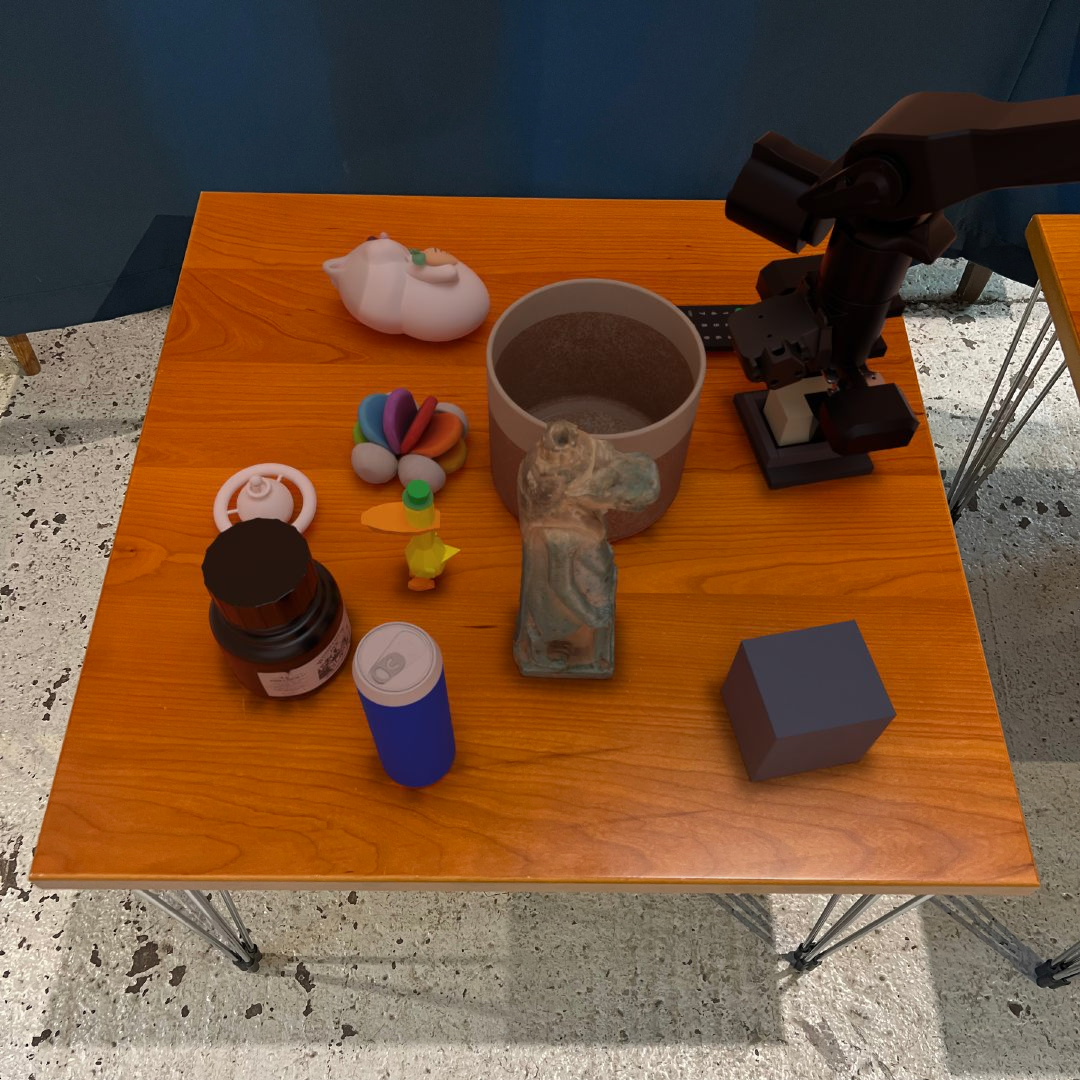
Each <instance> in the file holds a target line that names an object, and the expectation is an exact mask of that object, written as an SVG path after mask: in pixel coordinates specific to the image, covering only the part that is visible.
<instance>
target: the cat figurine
mask: <svg viewBox="0 0 1080 1080" xmlns="http://www.w3.org/2000/svg"><path fill="white" fill-rule="evenodd" d="M321 267H322V271H323V272H324V273H325V275H326V276H328V277H329V282H330V284H331V285H332V286H333V287H334V289H335V290H337V291H338V293H339V296H340V299H341V301H342V303H343V305H344V307H345V309H346V310H347V311H348V312H349V314H350V315H351V316H352V317H354V319H355V320H357V321H358V322H360V323H361V324H363V325H365V326H366V327H368V328H369V329H370V328H371V329H372V330H375V331H377V332H379V333H384V334H387V335H402V334H405V335H407V336H409V337H412V338H414V339H418V340H420V341H425V342H426V341H427V342H439V343H440V342H448V341H454V340H457V339H460V338H462V337H465V336H467V335H470V334H471V333H473V332H474V331H475V330H477V329H478V328H479V327H480V326H481V325H482V324H483V323H484V322H485V321H486V319H487V317H488V315H489V313H490V310H491V299H490V294H489V290H488V288H487V287H486V285H485V283H484V282H483V281H482V279H481V278H480V277H479V276H478V274H477V273H476V272H475V271H473V269H471V268H470V267H469V266H467V265H466V264H465V263H464V262H462V261H460V260H458V259H457V258H456V257H455V256H454V255H452V254H450V253H449V252H447V251H444V250H442V249H441V248H438V247H427V248H425V249H424V250H419V249H418V248H415V249H414V248H413V247H410V246H409V248H407V247H406V246H405V245H403V244H401V243H400V242H398V241H396V240H393V239H391V238H390V237H389V234H388V233H387V232H385V231H382V232H380V234H379V238H378V237H377V236H374V235H369V236H368V237H367V239H366V241H363V242H362V243H360V244H359V245H358V246H355V248H354V249H352V250H351V251H350V252H349V253H347V254H346V255H343V256H340V257H333V258H330V259H327V260H325V261H324V262H323V263H322V265H321Z"/></svg>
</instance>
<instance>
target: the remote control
mask: <svg viewBox="0 0 1080 1080" xmlns="http://www.w3.org/2000/svg"><path fill="white" fill-rule="evenodd" d="M753 304H754V303H753ZM753 304H752V303H751V304H689V305H688V304H686V305H685V304H683V305H678V304H677V305H675V306H676V307H677V308H678V309H680V310H681V311H682V312H683V313H684V314H685V315H686V316H687V317H688V318H689V320H690V321H691V322H692V323H693V325H694V326H695V328H696V330H697V331H698V333H699V335H700V337H701V340H702V342H703V345H704V349H705V353H722V352H723V353H725V352H727V353H729V352H731V353H733V352H734V353H735V351H734V348H733V344H732V340H731V336H730V332H729V328H728V323H727V321H728V318H729V316H730V315H731V314H732V313H734V312H736V311H738V310H740V309H743V308H746V307H748V306H751V305H753Z"/></svg>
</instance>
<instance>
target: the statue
mask: <svg viewBox="0 0 1080 1080" xmlns="http://www.w3.org/2000/svg"><path fill="white" fill-rule="evenodd" d="M660 491H661V486H660V475H659V470H658V467H657V464H656V463H655V462H654V460H653V459H652V456H650V455H648V454H646V453H640V452H633V453H625V454H623V453H621V452H619V451H616V450H615V449H614V446H613V443H612V442H610V441H609V440H598V439H593V438H592V437H591V436H589V435H588V434H587V433H586V432H584V431H581V430H579V429H577V425H575V424H572V423H570V422H567V421H565V420H562V421H556V422H547V429H546V430H545V431H544V433H543V434H542V436H541V439H540V440H538V441H537V442H536V443H535V444H534V445H533V446H532V447H531V448H530V450H529V451H528V453H527V455H526V457H525V459H522V461H521V464H520V466H519V473H518V478H517V499H518V508H519V519H518V520H519V529H520V534H521V575H520V587H519V588H520V589H519V599H518V602H519V605H518V610H517V613H516V617H515V621H514V625H515V629H514V631H513V634H512V642H513V644H512V657H513V660H514V663H515V665H516V666H517V667H518V671H519V673H520V674H521V676H523V677H534V678H552V679H553V678H554V679H555V678H556V679H597V680H607V679H608V680H609V679H610V678H612V677H613V676H614V675H615V640H616V639H615V636H616V635H615V632H616V631H615V618H616V609H617V604H616V595H617V589H618V577H619V576H618V575H619V572H618V566H617V564H616V563H615V562H614V559H615V557H616V554H615V552H614V547H613V545H612V544H610V542H608V541H606V540H607V538H608V536H609V530H608V526H607V522H606V519H605V516H604V514H605V513H607V512H608V510H609V509H617V510H621V511H626V512H635V513H639V512H641V511H644V510H646V508H647V506H648V504H651V503H654V502H655V501H656V500H657V499H658V498H659V496H660Z"/></svg>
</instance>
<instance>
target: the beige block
mask: <svg viewBox="0 0 1080 1080" xmlns="http://www.w3.org/2000/svg"><path fill="white" fill-rule="evenodd" d="M828 388H832V384H828V383H827V382H826V380H825V378H824V376H818V377H811V378H804V379H802V380H801V381H799V382H796V383H793V384H791V385H788V386H785V387H783V388H780V389H777V390H770V391H769V394H768V398H767V401H766V404H765V407H764V410H763V411H764V414H765V416H766V418H767V421H768V423H769V425H770V427H771V430H772V432H773V434H774V437H775V439H776V441H777V443H778V446H784V445H791V444H797V443H803V442H810V441H809V432H810V427H811V422H812V418H813V414H812V412H811V410H810V408H809V405H808V403H807V401H806V399H805V397H804V394H808V393H815V392H821V391H827V389H828ZM832 389H833V388H832Z"/></svg>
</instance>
